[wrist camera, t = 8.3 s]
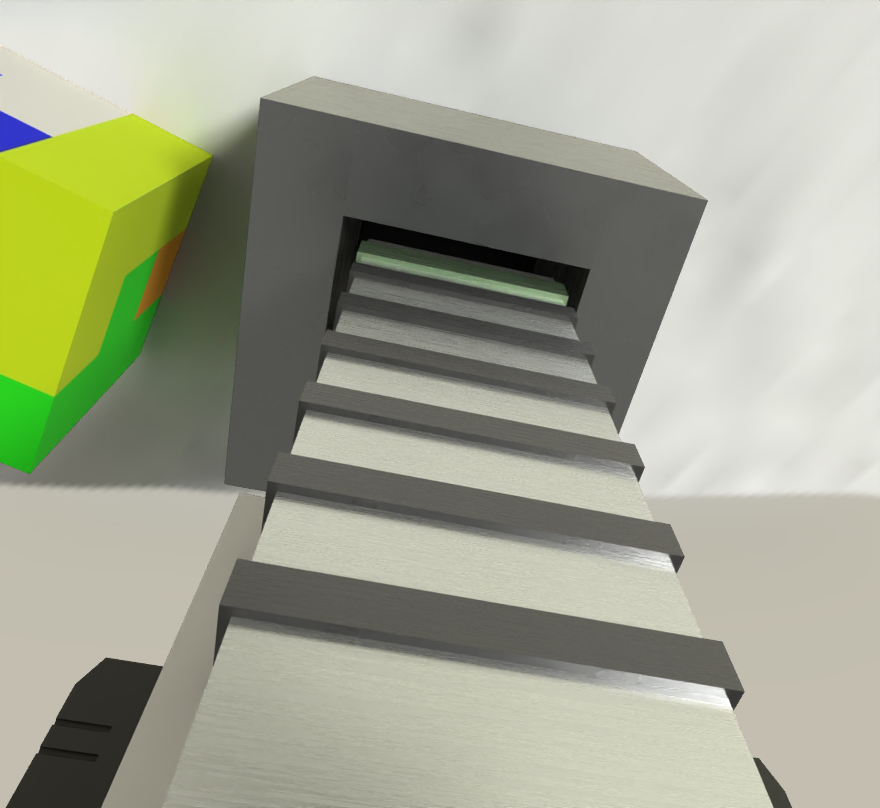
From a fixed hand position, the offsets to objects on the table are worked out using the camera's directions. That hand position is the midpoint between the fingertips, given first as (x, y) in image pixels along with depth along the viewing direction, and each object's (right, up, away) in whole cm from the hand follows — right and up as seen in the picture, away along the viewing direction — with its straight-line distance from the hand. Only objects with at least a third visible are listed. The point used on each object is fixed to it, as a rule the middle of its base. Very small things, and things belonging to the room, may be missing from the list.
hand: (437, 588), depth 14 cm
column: (0, +6, +11) cm, 12 cm away
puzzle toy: (-16, +12, +17) cm, 26 cm away
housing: (0, +9, +18) cm, 20 cm away
